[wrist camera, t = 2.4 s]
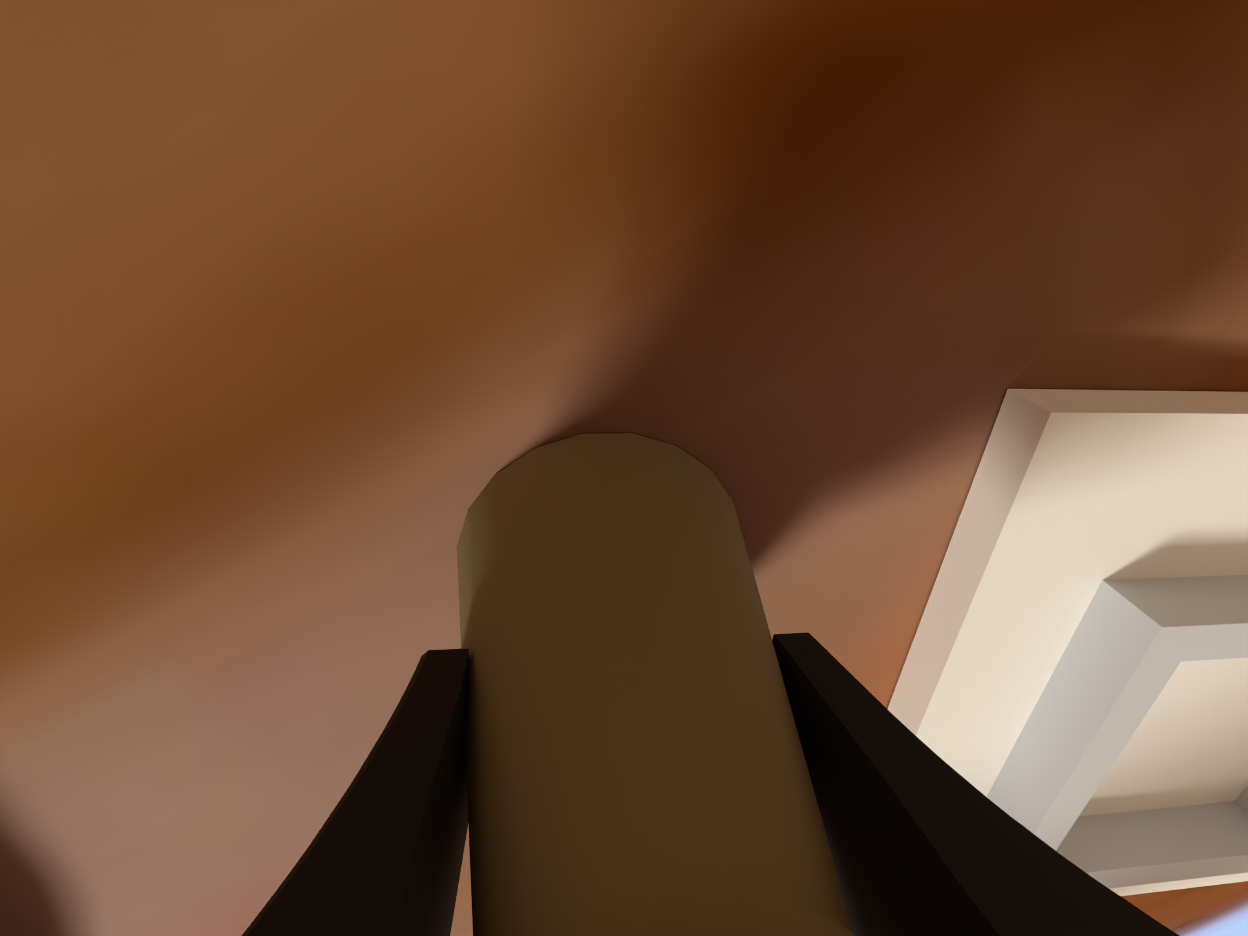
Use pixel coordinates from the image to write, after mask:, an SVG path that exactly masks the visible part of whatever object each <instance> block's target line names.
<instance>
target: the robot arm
mask: <svg viewBox="0 0 1248 936" xmlns="http://www.w3.org/2000/svg"><path fill="white" fill-rule="evenodd" d="M772 642H773V646H774V649H775V653H776V656H777V660H778V664H779V667H780V671H781V674H782V678H783V682H784V685H785V689H786V692H787V696H788V699H789V703H790V707H791V710H792V714H793V717H794V721H795V725H796V728H797V732H798V735H799V739H800V743H801V746H802V750H803V753H804V757H805V760H806V764H807V768H808V771H809V775H810V778H811V782H812V786H813V789H814V793H815V796H816V800H817V803H818V807H819V811H820V814H821V818H822V821H823V825H824V829H825V832H826V836H827V839H828V843H829V847H830V850H831V854H832V857H833V861H834V864H835V868H836V872H837V875H838V879H839V882H840V886H841V890H842V893H843V897H844V900H845V904H846V908H847V911H848V915H849V918H850V922H851V925H852V929H853V933H854V935H855V936H1179V935H1178V934H1176V933H1174V932H1173V931H1171V930H1170V929H1168V928H1167V927H1165V926H1164V925H1162V924H1160V923H1159V922H1157V921H1156V920H1154V919H1153V918H1151V917H1150V916H1148V915H1147V914H1146V913H1144V912H1143V911H1141V910H1140V909H1138V908H1137V907H1135V906H1134V905H1132V904H1131V903H1129V902H1128V901H1126V900H1125V899H1124V898H1122V897H1121V896H1119V895H1118V894H1116V893H1115V892H1113V891H1112V890H1110V889H1109V888H1107V887H1106V886H1104V885H1103V884H1102V883H1100V882H1099V881H1097V880H1096V879H1094V878H1093V877H1091V876H1090V875H1089V874H1087V873H1086V872H1084V871H1083V870H1082V869H1080V868H1079V867H1077V866H1076V865H1075V864H1073V863H1072V862H1070V861H1069V860H1068V859H1066V858H1065V857H1064V856H1062V855H1061V854H1059V853H1058V852H1057V851H1056V850H1054V849H1053V848H1052V847H1050V846H1049V845H1048V844H1046V843H1045V842H1044V841H1042V840H1041V839H1040V838H1038V837H1037V836H1036V835H1034V834H1033V833H1032V832H1031V831H1029V830H1028V829H1027V828H1025V827H1024V826H1023V825H1021V824H1020V823H1019V822H1017V821H1016V820H1015V819H1013V818H1012V817H1011V816H1010V815H1008V814H1007V813H1006V812H1005V811H1003V810H1002V809H1001V808H1000V807H998V806H997V805H996V804H995V803H993V802H992V801H991V800H990V799H988V798H987V797H986V796H985V795H983V794H982V793H981V792H980V791H979V790H978V789H976V788H975V787H974V786H973V785H972V784H970V783H969V782H968V781H967V780H966V779H965V778H963V777H962V776H961V775H960V774H959V773H958V772H956V771H955V770H954V769H953V768H952V767H950V766H949V765H948V764H947V763H946V762H945V761H943V760H942V759H941V758H940V757H939V756H938V755H937V754H936V753H934V752H933V751H932V750H931V749H930V748H929V747H928V746H927V745H925V744H924V743H923V742H922V741H921V740H920V739H919V738H918V737H917V736H916V735H914V734H913V733H912V732H911V731H910V730H909V729H908V728H907V727H906V726H905V725H904V724H903V723H901V722H900V721H899V720H898V719H897V718H896V717H895V716H894V715H893V714H892V713H891V712H890V711H889V710H888V709H887V708H885V707H884V706H883V705H882V704H881V703H880V702H879V701H878V700H877V699H876V698H875V697H874V696H873V695H872V694H871V693H870V692H869V691H868V690H867V689H866V688H865V687H864V686H863V685H862V684H861V683H860V682H859V681H858V680H856V679H855V678H854V677H853V676H852V675H851V674H850V673H849V672H848V671H847V670H846V669H845V668H844V667H843V666H842V665H841V664H840V663H839V662H838V661H837V660H836V659H835V658H834V657H833V656H832V655H831V654H830V653H829V652H828V651H827V650H826V649H825V648H824V647H823V646H822V645H821V644H820V643H819V642H818V641H817V640H816V639H815V638H813V637H812V636H811V635H810V634H809V633H792V634H774V636H773V640H772ZM468 675H469V649H448V650H428V651H427V652H426V653H425V654H424V655H423V656H422V657H421V659H420V661H419V663H418V666H417V668H416V670H415V672H414V674H413V676H412V678H411V680H410V682H409V684H408V686H407V688H406V690H405V692H404V694H403V696H402V698H401V700H400V702H399V704H398V705H397V707H396V709H395V711H394V713H393V714H392V716H391V718H390V720H389V722H388V723H387V725H386V727H385V729H384V730H383V732H382V734H381V735H380V737H379V739H378V740H377V742H376V744H375V745H374V747H373V749H372V750H371V752H370V754H369V755H368V757H367V759H366V760H365V762H364V764H363V765H362V767H361V769H360V770H359V772H358V774H357V775H356V777H355V778H354V780H353V781H352V783H351V785H350V786H349V788H348V789H347V791H346V792H345V794H344V795H343V797H342V798H341V800H340V801H339V803H338V804H337V806H336V807H335V809H334V810H333V812H332V813H331V814H330V816H329V817H328V819H327V820H326V822H325V823H324V825H323V826H322V828H321V829H320V831H319V832H318V834H317V835H316V837H315V838H314V840H313V841H312V843H311V844H310V845H309V847H308V848H307V850H306V851H305V852H304V854H303V855H302V857H301V858H300V859H299V861H298V862H297V864H296V865H295V866H294V868H293V869H292V870H291V872H290V873H289V875H288V876H287V877H286V879H285V880H284V881H283V883H282V884H281V885H280V887H279V888H278V889H277V891H276V892H275V893H274V895H273V896H272V897H271V899H270V900H269V901H268V902H267V904H266V905H265V906H264V908H263V909H262V910H261V912H260V913H259V914H258V915H257V917H256V918H255V919H254V921H253V922H252V923H251V925H250V926H249V927H248V928H247V930H246V931H245V932H244V933H243V935H242V936H450V932H451V926H452V920H453V914H454V908H455V902H456V896H457V889H458V883H459V877H460V871H461V865H462V859H463V852H464V846H465V840H466V834H467V827H468V798H467V774H466V750H465V724H466V708H467V692H468Z"/></svg>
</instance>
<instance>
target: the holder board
mask: <svg viewBox="0 0 1248 936" xmlns="http://www.w3.org/2000/svg"><path fill="white" fill-rule="evenodd" d="M888 710H889V711H890V712H891V713H892V714H893V715H894V716H895V717H896V718H897V719H898V720H899V721H900V722H901V723H903V724H904V725H905V726H906V727H907V728H908V729H909V730H910V731H911V732H912V733H913V734H914V735H916V736H917V737H918V738H919V739H920V740H921V741H922V742H923V743H924V744H925V745H927V746H928V747H929V748H930V749H931V750H932V751H933V752H934V753H936V754H937V755H938V756H939V757H940V758H941V759H942V760H943V761H945V762H946V763H947V764H948V765H949V766H950V767H952V768H953V769H954V770H955V771H956V772H958V773H959V774H960V775H961V776H962V777H963V778H965V779H966V780H967V781H968V782H969V783H970V784H972V785H973V786H974V787H975V788H976V789H978V790H979V791H980V792H981V793H982V794H983V795H985V796H986V797H987V798H988V799H990V800H991V801H992V802H993V803H995V804H996V805H997V806H998V807H1000V808H1001V809H1002V810H1003V811H1005V812H1006V813H1007V814H1008V815H1010V816H1011V817H1012V818H1013V819H1015V820H1016V821H1017V822H1019V823H1020V824H1021V825H1023V826H1024V827H1025V828H1027V829H1028V830H1029V831H1031V832H1032V833H1033V834H1034V835H1036V836H1037V837H1038V838H1040V839H1041V840H1042V841H1044V842H1045V843H1046V844H1048V845H1049V846H1050V847H1052V848H1053V849H1054V850H1056V851H1057V852H1058V853H1059V854H1061V855H1062V856H1064V857H1065V858H1066V859H1068V860H1069V861H1070V862H1072V863H1073V864H1075V865H1076V866H1077V867H1079V868H1080V869H1082V870H1083V871H1084V872H1086V873H1087V874H1089V875H1090V876H1091V877H1093V878H1094V879H1096V880H1097V881H1099V882H1100V883H1102V884H1103V885H1104V886H1106V887H1107V888H1109V889H1110V890H1112V891H1113V892H1115V893H1116V894H1118V895H1119V896H1125V895H1134V894H1142V893H1151V892H1159V891H1167V890H1176V889H1184V888H1193V887H1201V886H1209V885H1218V884H1226V883H1234V882H1243V881H1248V392H1217V391H1140V390H1064V389H1007V392H1006V395H1005V397H1004V400H1003V403H1002V405H1001V408H1000V411H999V413H998V416H997V419H996V421H995V424H994V427H993V429H992V432H991V435H990V437H989V440H988V443H987V445H986V448H985V451H984V453H983V456H982V459H981V461H980V464H979V467H978V469H977V472H976V475H975V477H974V480H973V483H972V485H971V488H970V491H969V493H968V496H967V499H966V501H965V504H964V507H963V509H962V512H961V514H960V517H959V520H958V522H957V525H956V528H955V530H954V533H953V536H952V538H951V541H950V544H949V546H948V549H947V552H946V554H945V557H944V560H943V562H942V565H941V568H940V570H939V573H938V576H937V578H936V581H935V584H934V586H933V589H932V592H931V594H930V597H929V600H928V602H927V605H926V608H925V610H924V613H923V616H922V618H921V621H920V624H919V626H918V629H917V632H916V634H915V637H914V640H913V642H912V645H911V648H910V650H909V653H908V656H907V658H906V661H905V664H904V666H903V669H902V672H901V674H900V677H899V680H898V682H897V685H896V688H895V690H894V693H893V696H892V698H891V701H890V704H889V706H888Z"/></svg>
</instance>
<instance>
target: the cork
mask: <svg viewBox="0 0 1248 936" xmlns="http://www.w3.org/2000/svg"><path fill="white" fill-rule="evenodd" d="M457 557H458V581H459V605H460V629H461V649H469V675H468V692H467V708H466V724H465V750H466V774H467V798H468V822H469V846H470V870H471V894H472V918H473V936H855V935H854V933H853V929H852V925H851V922H850V918H849V915H848V911H847V908H846V904H845V900H844V897H843V893H842V890H841V886H840V882H839V879H838V875H837V872H836V868H835V864H834V861H833V857H832V854H831V850H830V847H829V843H828V839H827V836H826V832H825V829H824V825H823V821H822V818H821V814H820V811H819V807H818V803H817V800H816V796H815V793H814V789H813V786H812V782H811V778H810V775H809V771H808V768H807V764H806V760H805V757H804V753H803V750H802V746H801V743H800V739H799V735H798V732H797V728H796V725H795V721H794V717H793V714H792V710H791V707H790V703H789V699H788V696H787V692H786V689H785V685H784V682H783V678H782V674H781V671H780V667H779V664H778V660H777V656H776V653H775V649H774V646H773V642H772V638H771V635H770V631H769V628H768V624H767V621H766V617H765V613H764V610H763V606H762V603H761V599H760V595H759V592H758V588H757V585H756V581H755V578H754V574H753V570H752V567H751V563H750V560H749V556H748V552H747V549H746V545H745V542H744V538H743V534H742V531H741V527H740V524H739V520H738V517H737V513H736V509H735V506H734V502H733V500H732V499H731V498H730V496H729V495H728V493H727V492H726V490H725V489H724V487H723V486H722V484H721V483H720V482H719V480H718V479H717V477H716V476H715V474H714V473H713V471H712V470H711V469H709V468H708V467H706V466H705V465H704V464H702V463H701V462H699V461H698V460H696V459H695V458H693V457H692V456H691V455H689V454H688V453H686V452H685V451H683V450H682V449H680V448H679V447H678V446H675V445H672V444H668V443H665V442H662V441H658V440H655V439H651V438H648V437H644V436H641V435H637V434H634V433H589V434H579V435H576V436H573V437H570V438H566V439H563V440H560V441H557V442H553V443H550V444H547V445H544V446H540V447H537V448H534V449H533V450H531V451H530V452H528V453H527V454H525V455H524V456H522V457H521V458H519V459H518V460H516V461H515V462H513V463H512V464H510V465H509V466H507V467H506V468H504V469H503V470H501V471H500V472H498V473H497V474H496V475H495V476H494V477H493V478H492V480H491V481H490V482H489V483H488V485H487V486H486V487H485V489H484V490H483V491H482V492H481V494H480V495H479V496H478V498H477V499H476V500H475V502H474V503H473V504H472V505H471V507H470V508H469V509H468V513H467V516H466V519H465V523H464V526H463V529H462V533H461V536H460V539H459V542H458V546H457Z"/></svg>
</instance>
